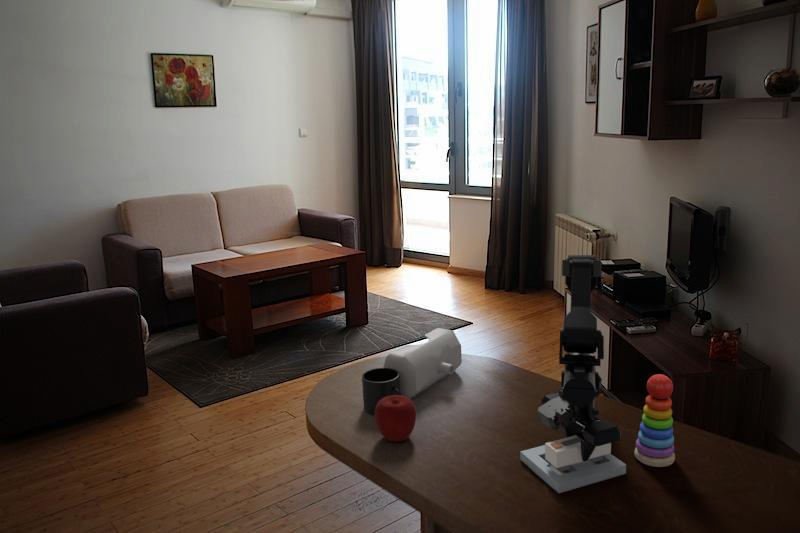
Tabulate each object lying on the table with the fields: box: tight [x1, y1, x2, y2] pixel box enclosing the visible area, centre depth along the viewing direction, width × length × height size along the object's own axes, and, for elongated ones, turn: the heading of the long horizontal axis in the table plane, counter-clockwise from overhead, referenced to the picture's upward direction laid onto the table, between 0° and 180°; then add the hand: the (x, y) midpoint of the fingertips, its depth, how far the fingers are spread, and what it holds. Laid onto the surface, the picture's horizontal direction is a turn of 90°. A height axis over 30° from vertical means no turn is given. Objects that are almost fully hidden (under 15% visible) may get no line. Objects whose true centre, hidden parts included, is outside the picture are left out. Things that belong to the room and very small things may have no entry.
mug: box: [361, 367, 401, 416], centre depth 169 cm, size 9×12×9 cm
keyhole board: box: [519, 444, 627, 494], centre depth 140 cm, size 16×14×2 cm
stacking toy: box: [633, 373, 676, 468], centre depth 139 cm, size 8×8×19 cm
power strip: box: [544, 435, 612, 472], centre depth 137 cm, size 13×4×5 cm, turn 112°
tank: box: [382, 327, 463, 400], centre depth 182 cm, size 25×16×12 cm, turn 143°
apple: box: [374, 395, 417, 443], centre depth 155 cm, size 10×10×10 cm
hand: (578, 455), depth 137 cm, fingers closed on power strip, 4 cm apart
